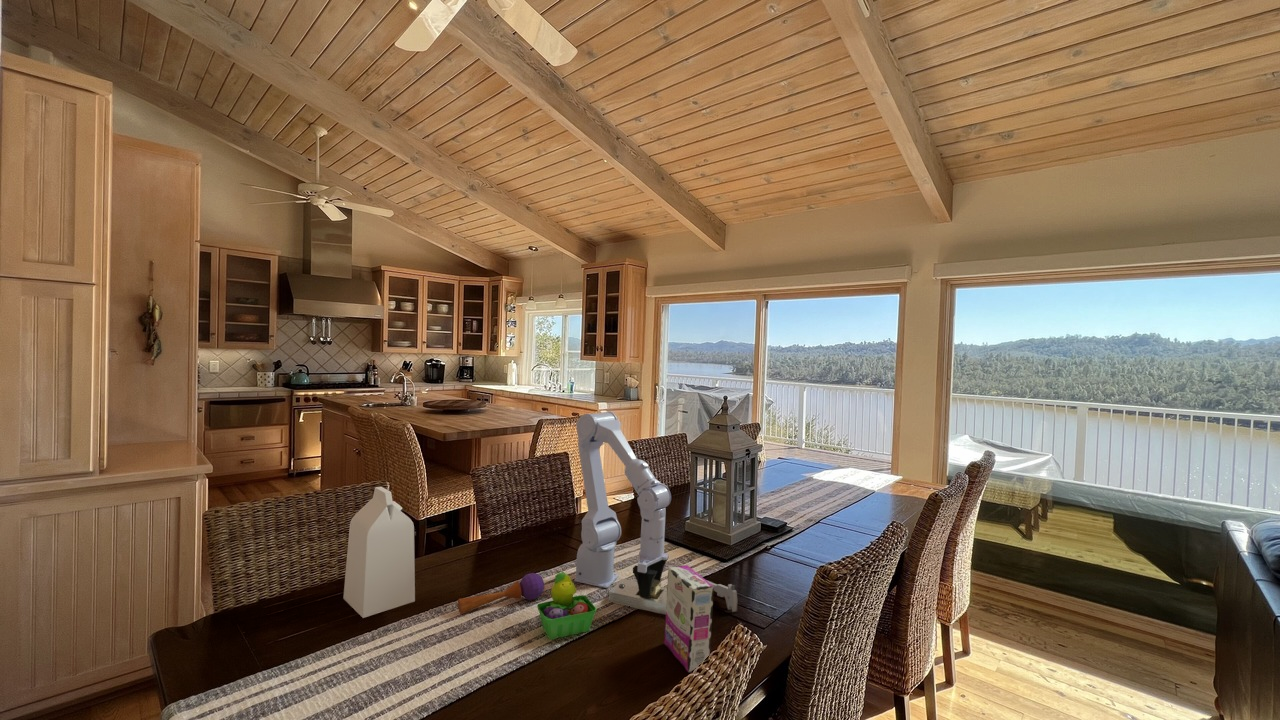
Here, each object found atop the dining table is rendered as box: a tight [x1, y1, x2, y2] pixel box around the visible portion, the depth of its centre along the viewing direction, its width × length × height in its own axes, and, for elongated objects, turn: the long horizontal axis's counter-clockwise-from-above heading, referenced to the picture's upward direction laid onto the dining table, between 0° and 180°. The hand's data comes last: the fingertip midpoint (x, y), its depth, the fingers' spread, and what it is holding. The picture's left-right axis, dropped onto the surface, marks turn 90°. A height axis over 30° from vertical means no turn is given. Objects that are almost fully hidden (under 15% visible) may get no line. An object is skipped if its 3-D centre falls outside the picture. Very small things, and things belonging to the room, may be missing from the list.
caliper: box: [705, 579, 738, 613], centre depth 136 cm, size 20×1×6 cm, turn 27°
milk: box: [343, 486, 416, 619], centre depth 125 cm, size 12×12×26 cm
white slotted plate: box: [608, 578, 667, 616], centre depth 130 cm, size 18×8×3 cm, turn 70°
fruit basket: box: [537, 571, 598, 640], centre depth 117 cm, size 11×9×11 cm
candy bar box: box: [664, 564, 715, 673], centre depth 109 cm, size 11×5×16 cm, turn 23°
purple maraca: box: [457, 572, 545, 615], centre depth 126 cm, size 6×6×20 cm
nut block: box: [639, 580, 662, 599], centre depth 130 cm, size 4×4×5 cm
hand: (649, 590), depth 130 cm, fingers open, 7 cm apart
